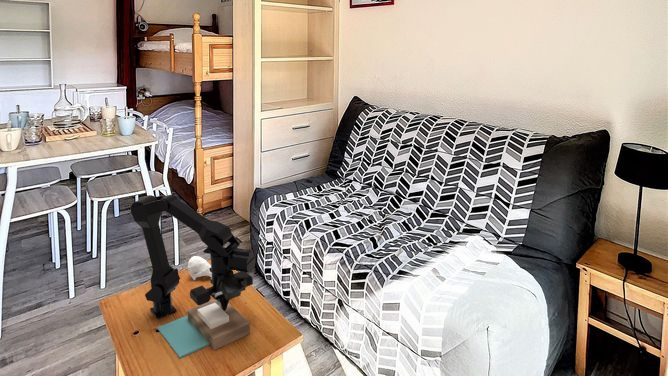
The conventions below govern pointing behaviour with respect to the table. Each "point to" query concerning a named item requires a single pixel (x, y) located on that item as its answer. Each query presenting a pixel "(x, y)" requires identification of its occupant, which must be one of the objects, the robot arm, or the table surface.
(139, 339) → the table surface
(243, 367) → the table surface
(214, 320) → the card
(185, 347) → the mat
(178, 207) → the robot arm
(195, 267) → the white rounded lumpy piece
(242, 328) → the brown flat block
